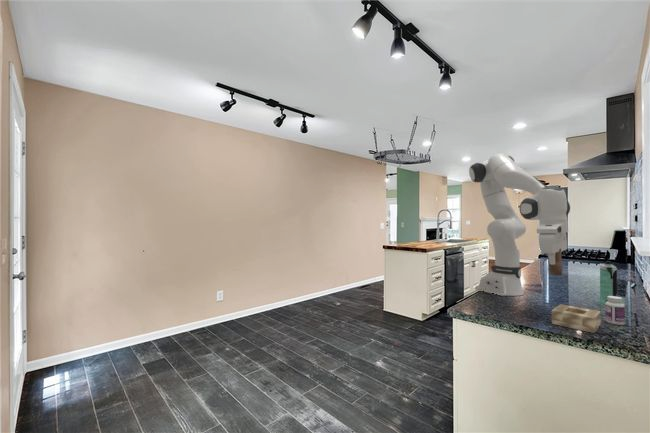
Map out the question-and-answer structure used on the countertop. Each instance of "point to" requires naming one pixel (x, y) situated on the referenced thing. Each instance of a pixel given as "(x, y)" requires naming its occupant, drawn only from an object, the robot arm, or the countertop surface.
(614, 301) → the pill bottle
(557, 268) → the peg
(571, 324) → the socket block
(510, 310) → the countertop surface
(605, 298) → the spray can
